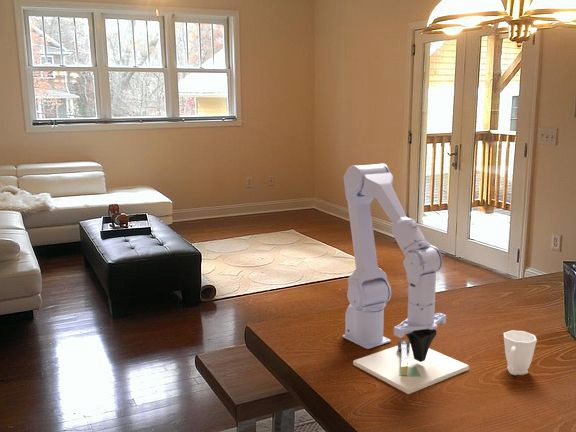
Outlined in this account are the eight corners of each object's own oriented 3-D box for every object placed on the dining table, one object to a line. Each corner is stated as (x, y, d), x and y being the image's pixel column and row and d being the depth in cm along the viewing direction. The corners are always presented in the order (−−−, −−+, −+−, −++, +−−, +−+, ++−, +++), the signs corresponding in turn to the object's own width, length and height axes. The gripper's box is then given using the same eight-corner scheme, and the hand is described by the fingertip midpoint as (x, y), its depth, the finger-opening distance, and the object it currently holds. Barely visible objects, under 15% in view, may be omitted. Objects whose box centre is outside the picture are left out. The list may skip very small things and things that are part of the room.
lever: (397, 347, 138) (397, 339, 138) (409, 348, 138) (409, 340, 137) (397, 374, 124) (398, 365, 124) (411, 375, 124) (411, 366, 123)
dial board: (353, 364, 132) (353, 360, 132) (411, 344, 142) (412, 340, 142) (408, 394, 118) (408, 389, 118) (468, 369, 129) (468, 365, 129)
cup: (538, 368, 129) (540, 334, 127) (526, 386, 121) (528, 350, 120) (505, 360, 133) (508, 327, 132) (492, 377, 125) (494, 342, 124)
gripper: (411, 313, 120) (409, 375, 122) (458, 300, 128) (455, 357, 130) (387, 304, 125) (386, 363, 128) (433, 291, 133) (431, 347, 136)
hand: (419, 359), depth 129 cm, fingers closed
